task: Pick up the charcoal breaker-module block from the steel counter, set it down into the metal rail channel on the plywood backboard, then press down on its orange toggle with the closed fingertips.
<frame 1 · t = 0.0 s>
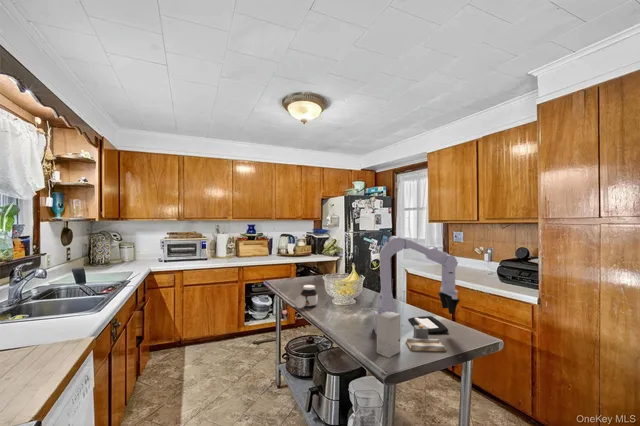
hand: (448, 310, 133), 10 cm above the table, tool pointing down, fingers open, 7 cm apart
spread jar: (306, 307, 170), on the table
rail board: (425, 346, 118), on the table
module: (420, 338, 126), on the table
black picture frame: (427, 327, 141), on the table
skincare box: (388, 352, 113), on the table
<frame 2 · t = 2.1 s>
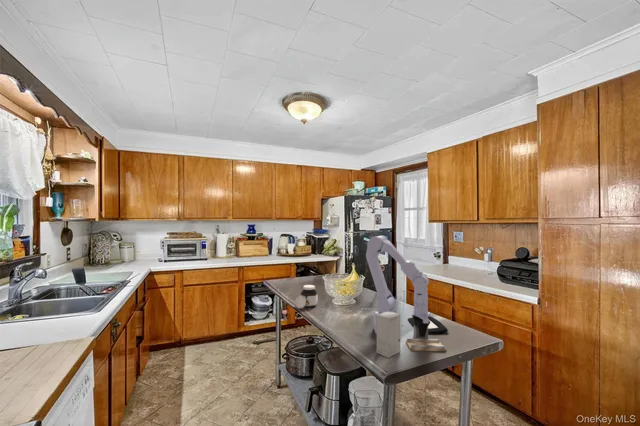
hand: (420, 334, 126), 2 cm above the table, tool pointing down, fingers closed on module, 4 cm apart
module: (420, 338, 126), on the table, touching gripper
everything else where it was.
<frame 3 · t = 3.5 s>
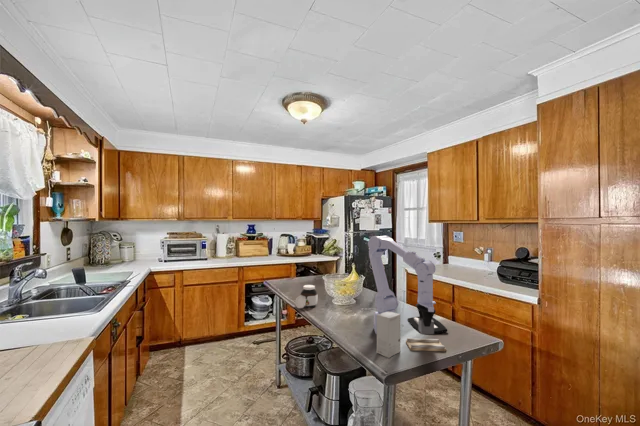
hand: (425, 324, 119), 9 cm above the table, tool pointing down, fingers closed on module, 4 cm apart
module: (426, 332, 119), point 6 cm above the table, touching gripper
everything else where it was.
when the fingers open (3 cm above the table, at t = 5.1 s): module stays where it is, resting on rail board.
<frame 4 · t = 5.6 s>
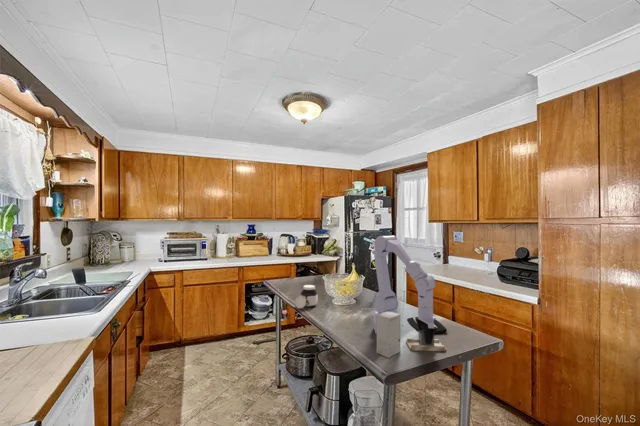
hand: (425, 339, 118), 3 cm above the table, tool pointing down, fingers open, 7 cm apart
module: (426, 344, 118), point 1 cm above the table, touching rail board
everything else where it was.
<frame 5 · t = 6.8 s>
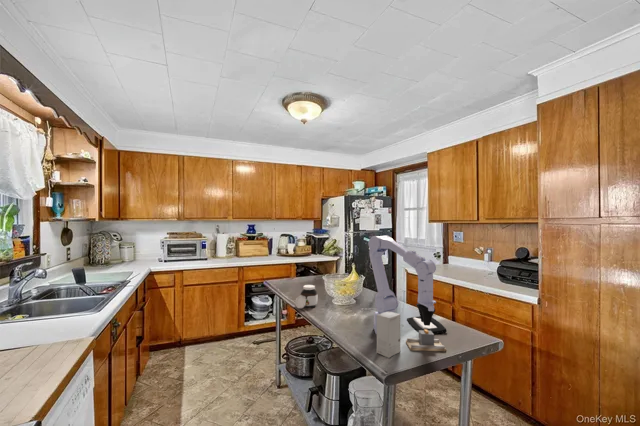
hand: (425, 323, 118), 9 cm above the table, tool pointing down, fingers open, 3 cm apart
nothing on the table moved.
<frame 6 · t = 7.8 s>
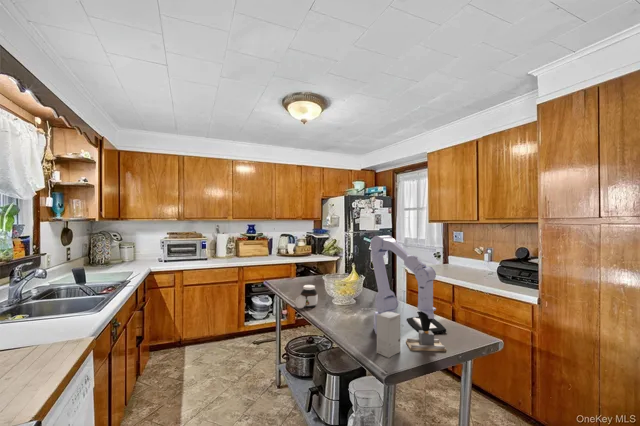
hand: (425, 330, 118), 7 cm above the table, tool pointing down, fingers closed, pressing on module
module: (426, 344, 118), point 1 cm above the table, touching gripper, rail board
everything else where it was.
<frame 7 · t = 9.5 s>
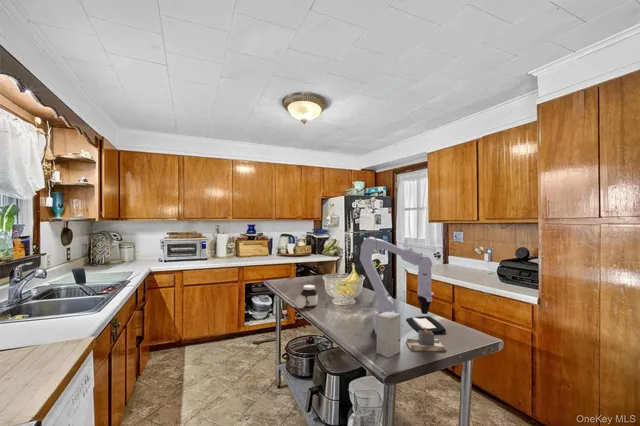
hand: (424, 313, 129), 10 cm above the table, tool pointing down, fingers closed
module: (426, 344, 118), point 1 cm above the table, touching rail board
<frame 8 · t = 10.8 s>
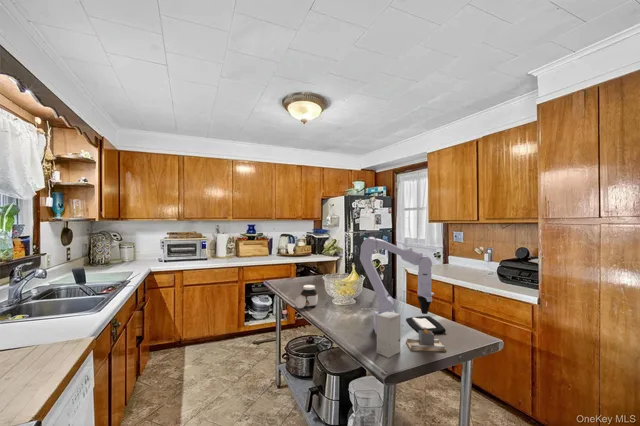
hand: (424, 313, 129), 10 cm above the table, tool pointing down, fingers closed
at the end: module inside the target area on the rail board (0.3 cm from its centre), point 0.8 cm above the rail board's base; module tilted 0°; the gripper is holding nothing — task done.
